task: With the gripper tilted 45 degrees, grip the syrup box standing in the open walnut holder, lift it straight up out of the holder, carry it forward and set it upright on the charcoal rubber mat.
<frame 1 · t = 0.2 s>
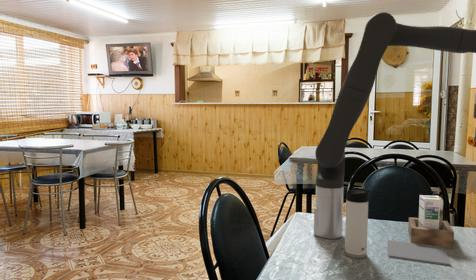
travel mug: (356, 254, 107), on the table
syrup box: (429, 239, 119), resting in walnut holder
walnut holder: (429, 238, 119), on the table
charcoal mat: (416, 252, 108), on the table
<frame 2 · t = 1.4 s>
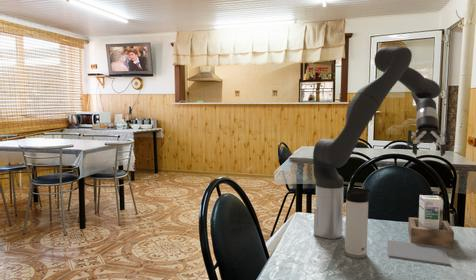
hand: (428, 154, 130), 27 cm above the table, tool tilted 45°, fingers open, 8 cm apart
nothing on the table moved.
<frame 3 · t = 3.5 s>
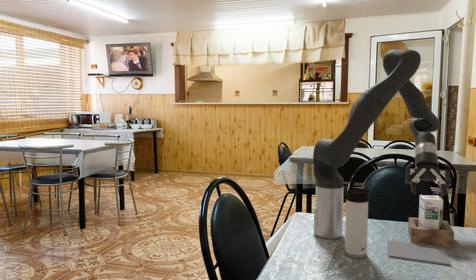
hand: (428, 194, 124), 14 cm above the table, tool tilted 45°, fingers open, 8 cm apart
nothing on the table moved.
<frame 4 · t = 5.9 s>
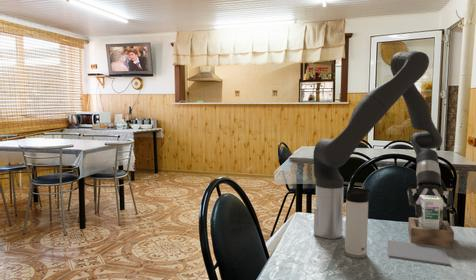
hand: (431, 217, 117), 8 cm above the table, tool tilted 45°, fingers closed on syrup box, 6 cm apart
syrup box: (429, 239, 119), resting in walnut holder, touching gripper
everything else where it was.
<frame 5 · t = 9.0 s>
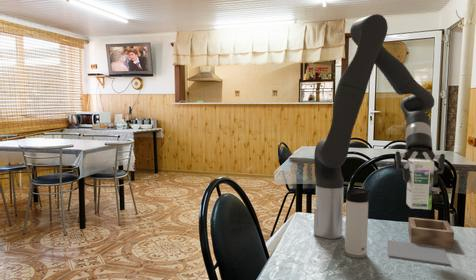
hand: (420, 182, 105), 22 cm above the table, tool tilted 45°, fingers closed on syrup box, 6 cm apart
syrup box: (418, 207, 108), point 14 cm above the table, touching gripper
everything else where it was.
when the fingers open (9 cm above the table, at t = 12.2 s): syrup box stays where it is, resting on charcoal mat.
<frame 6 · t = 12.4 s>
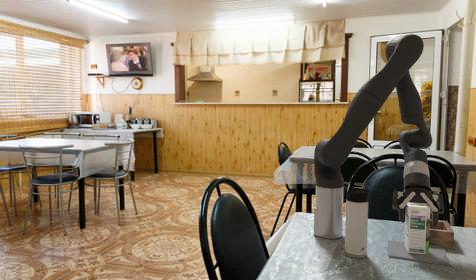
hand: (418, 223, 106), 10 cm above the table, tool tilted 45°, fingers open, 8 cm apart
syrup box: (415, 251, 108), resting on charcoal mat
everything else where it was.
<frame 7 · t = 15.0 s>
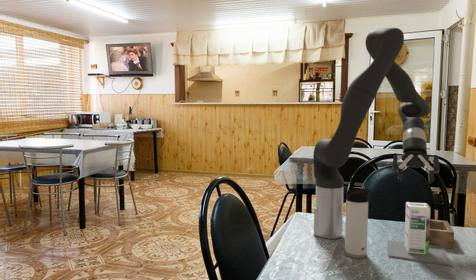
hand: (415, 181, 117), 20 cm above the table, tool tilted 45°, fingers open, 8 cm apart
nothing on the table moved.
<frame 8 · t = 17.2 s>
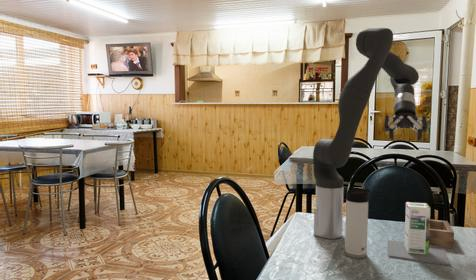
hand: (405, 139, 127), 33 cm above the table, tool tilted 45°, fingers open, 8 cm apart
nothing on the table moved.
at the end: syrup box inside the target area on the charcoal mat (0.2 cm from its centre), point 0.3 cm above the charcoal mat's base; syrup box tilted 0°; the gripper is holding nothing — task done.
